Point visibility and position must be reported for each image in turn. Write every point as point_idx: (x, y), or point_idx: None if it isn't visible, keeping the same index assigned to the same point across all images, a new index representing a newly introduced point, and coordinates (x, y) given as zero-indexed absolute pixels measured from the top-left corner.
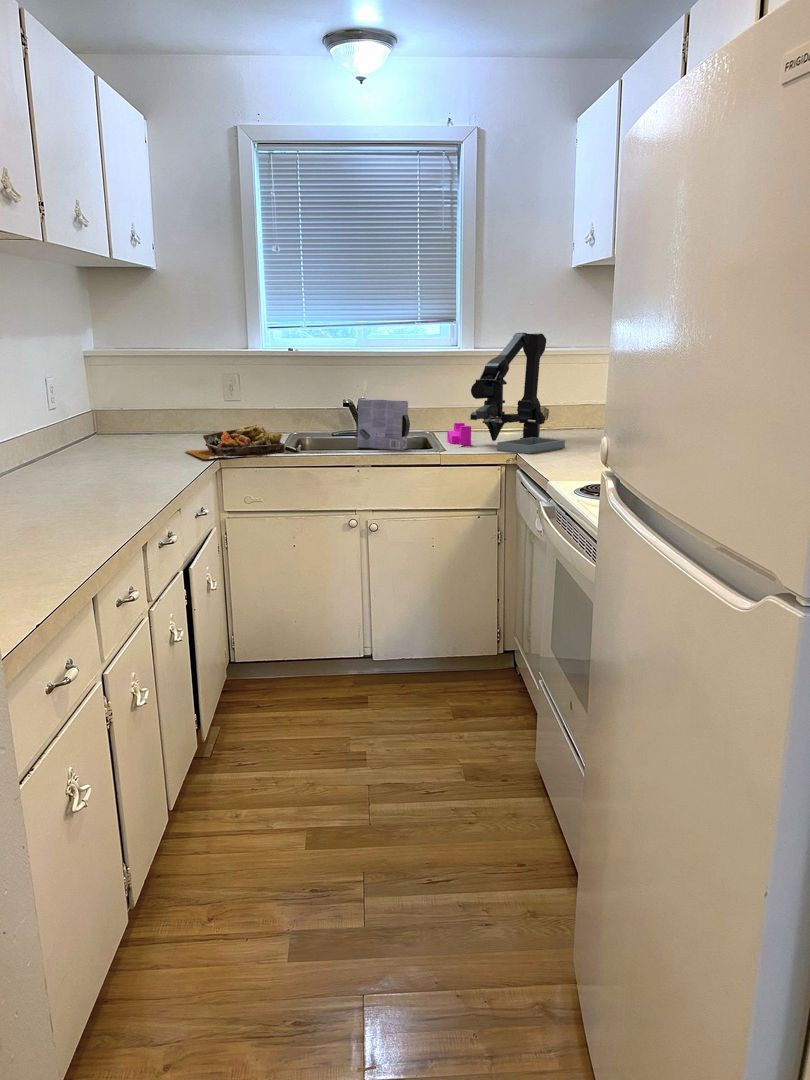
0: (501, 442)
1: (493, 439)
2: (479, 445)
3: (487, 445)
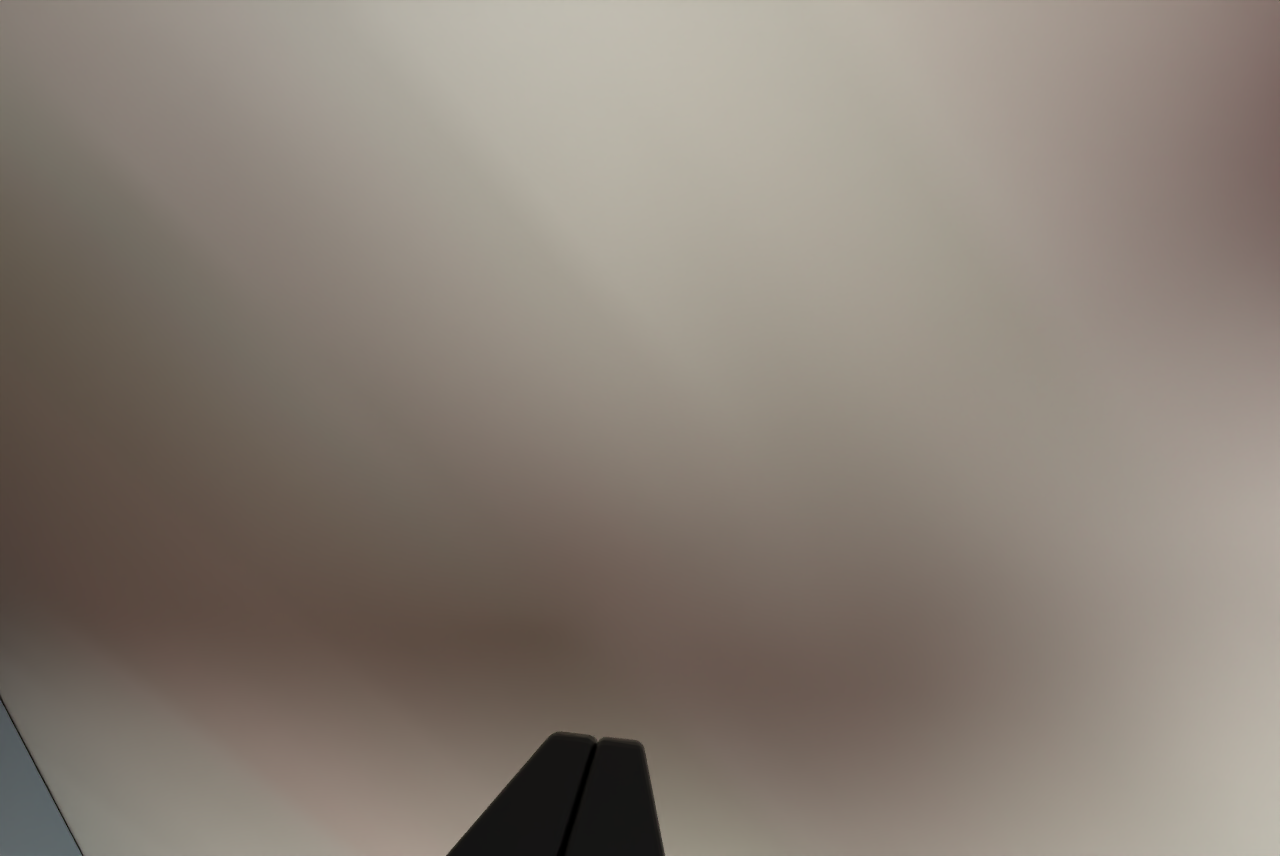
0: None
1: (560, 764)
2: (1220, 541)
3: (945, 671)
